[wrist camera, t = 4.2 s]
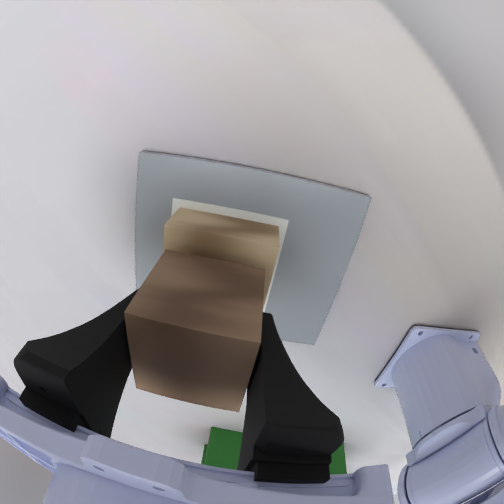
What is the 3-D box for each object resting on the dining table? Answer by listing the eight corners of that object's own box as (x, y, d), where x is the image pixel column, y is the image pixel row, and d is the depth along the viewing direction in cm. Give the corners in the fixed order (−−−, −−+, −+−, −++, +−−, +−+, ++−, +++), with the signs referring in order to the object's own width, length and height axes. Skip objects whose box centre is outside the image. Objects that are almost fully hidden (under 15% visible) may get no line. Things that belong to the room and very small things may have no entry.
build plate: (368, 195, 16) (371, 198, 16) (313, 339, 22) (314, 345, 21) (143, 150, 16) (138, 152, 15) (140, 305, 22) (137, 310, 21)
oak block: (278, 226, 17) (279, 247, 15) (258, 305, 20) (256, 333, 17) (179, 207, 17) (164, 224, 14) (174, 288, 20) (161, 313, 17)
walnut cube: (265, 268, 14) (260, 343, 10) (247, 340, 16) (238, 412, 12) (165, 248, 14) (124, 312, 10) (164, 322, 16) (136, 388, 12)
